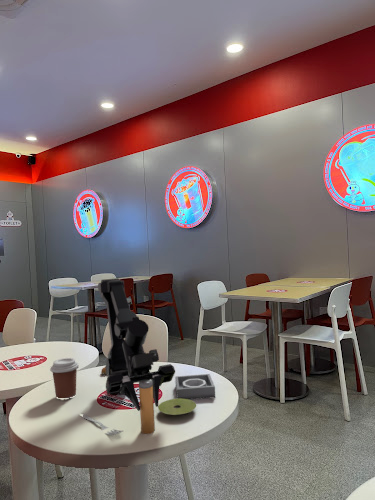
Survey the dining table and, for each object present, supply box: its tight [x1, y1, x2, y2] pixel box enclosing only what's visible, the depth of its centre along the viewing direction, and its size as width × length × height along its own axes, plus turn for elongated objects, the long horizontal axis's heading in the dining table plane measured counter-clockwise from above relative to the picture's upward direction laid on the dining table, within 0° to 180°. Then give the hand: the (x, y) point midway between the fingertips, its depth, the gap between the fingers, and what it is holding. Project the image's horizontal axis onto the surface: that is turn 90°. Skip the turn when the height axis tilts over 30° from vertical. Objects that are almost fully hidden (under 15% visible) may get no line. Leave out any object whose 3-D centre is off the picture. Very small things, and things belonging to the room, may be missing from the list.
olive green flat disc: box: [157, 398, 197, 416], centre depth 112 cm, size 11×11×2 cm
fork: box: [82, 414, 124, 436], centre depth 108 cm, size 3×24×2 cm, turn 44°
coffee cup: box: [49, 357, 80, 398], centre depth 128 cm, size 9×9×12 cm
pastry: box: [100, 365, 108, 376], centre depth 151 cm, size 9×7×4 cm
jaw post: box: [138, 380, 156, 435], centre depth 102 cm, size 4×4×13 cm
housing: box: [174, 373, 216, 400], centre depth 127 cm, size 12×12×4 cm
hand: (148, 408), depth 100 cm, fingers open, 5 cm apart
